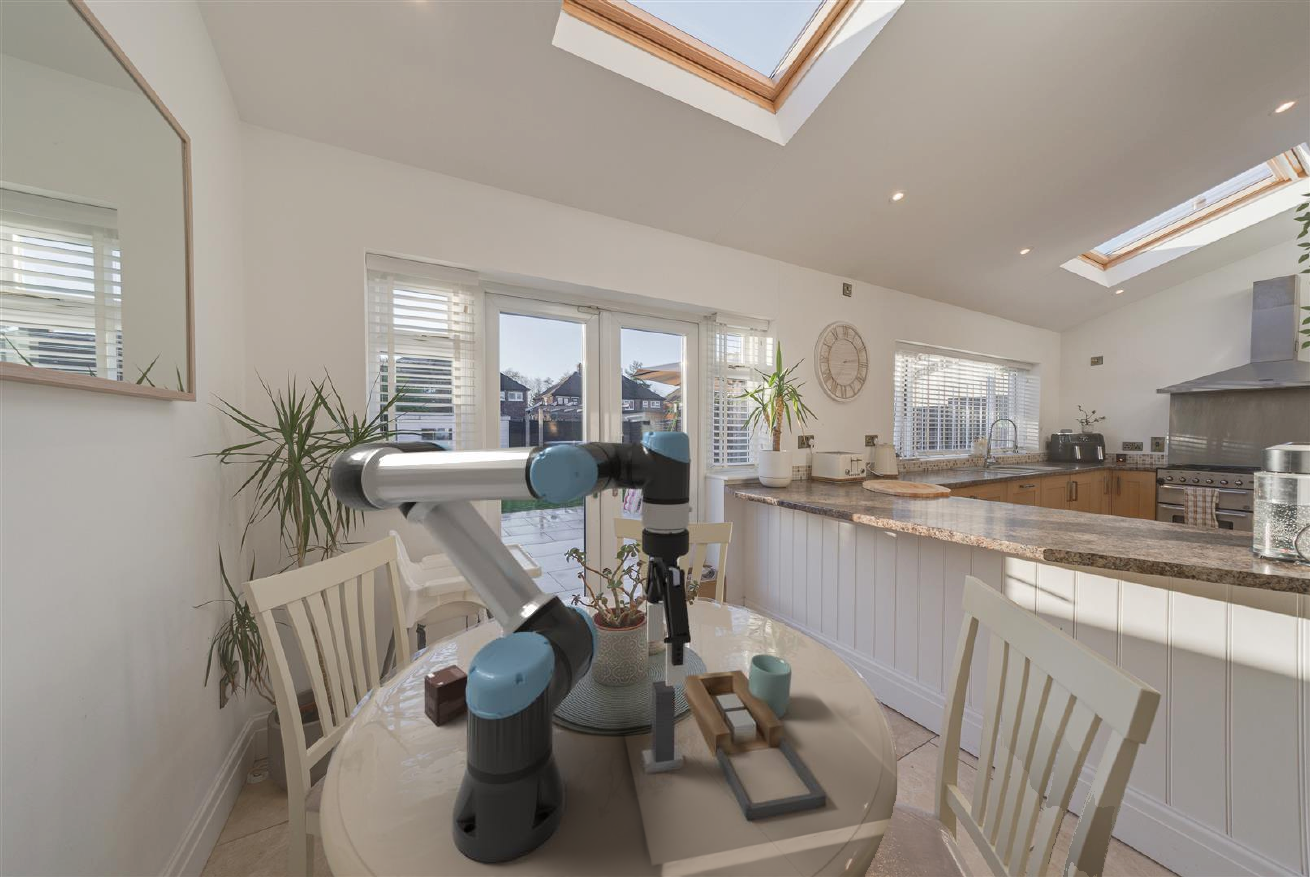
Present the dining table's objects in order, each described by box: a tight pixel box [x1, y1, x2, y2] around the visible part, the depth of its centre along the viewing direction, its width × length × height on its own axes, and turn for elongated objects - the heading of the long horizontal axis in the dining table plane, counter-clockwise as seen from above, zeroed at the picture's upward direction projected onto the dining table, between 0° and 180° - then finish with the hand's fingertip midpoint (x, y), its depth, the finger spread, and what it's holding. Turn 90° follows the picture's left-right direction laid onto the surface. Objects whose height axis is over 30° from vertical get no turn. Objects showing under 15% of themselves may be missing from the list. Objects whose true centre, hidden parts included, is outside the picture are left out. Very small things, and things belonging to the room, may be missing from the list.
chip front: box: [726, 710, 756, 744], centre depth 79 cm, size 4×4×3 cm
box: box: [423, 664, 468, 726], centre depth 86 cm, size 6×6×7 cm
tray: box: [716, 738, 827, 822], centre depth 68 cm, size 12×12×3 cm
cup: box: [748, 654, 792, 719], centre depth 87 cm, size 8×8×10 cm
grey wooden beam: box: [641, 680, 684, 775], centre depth 71 cm, size 6×3×14 cm, turn 102°
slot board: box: [683, 669, 784, 757], centre depth 83 cm, size 13×18×5 cm
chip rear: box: [716, 694, 744, 724], centre depth 83 cm, size 4×4×3 cm
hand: (664, 660), depth 71 cm, fingers open, 13 cm apart
